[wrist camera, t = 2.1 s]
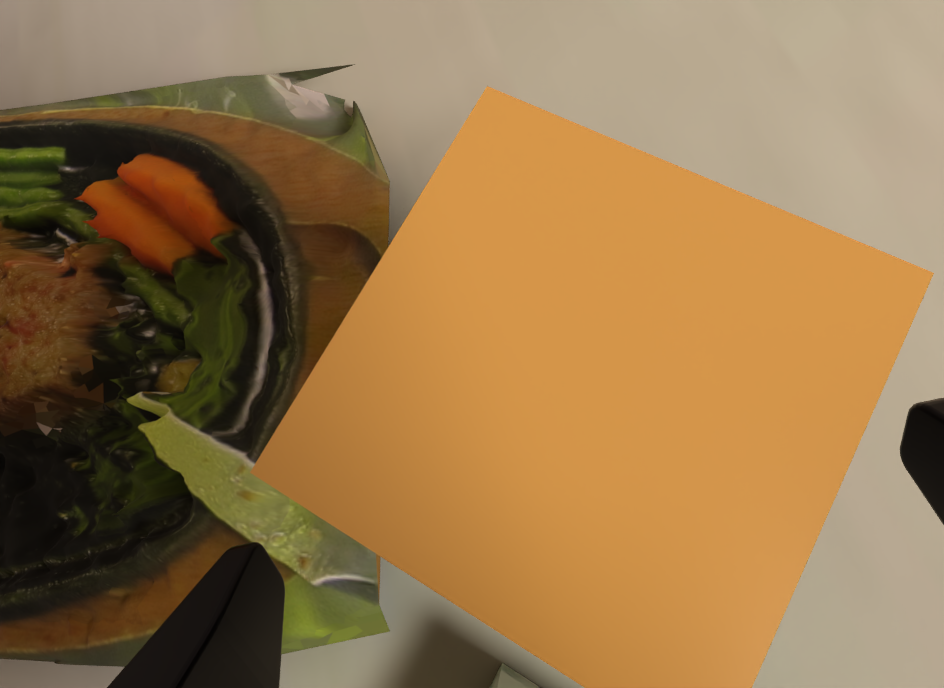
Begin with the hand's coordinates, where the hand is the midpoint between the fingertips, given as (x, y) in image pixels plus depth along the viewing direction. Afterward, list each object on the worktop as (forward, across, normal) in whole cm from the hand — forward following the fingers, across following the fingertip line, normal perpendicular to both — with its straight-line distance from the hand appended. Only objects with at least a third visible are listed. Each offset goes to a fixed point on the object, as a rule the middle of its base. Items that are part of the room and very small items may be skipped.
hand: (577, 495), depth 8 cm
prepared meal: (+12, +17, +1) cm, 21 cm away
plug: (+7, 0, +6) cm, 9 cm away
